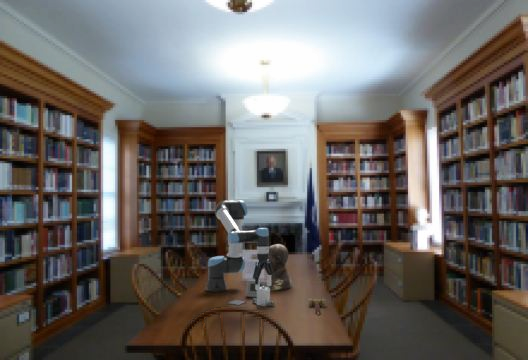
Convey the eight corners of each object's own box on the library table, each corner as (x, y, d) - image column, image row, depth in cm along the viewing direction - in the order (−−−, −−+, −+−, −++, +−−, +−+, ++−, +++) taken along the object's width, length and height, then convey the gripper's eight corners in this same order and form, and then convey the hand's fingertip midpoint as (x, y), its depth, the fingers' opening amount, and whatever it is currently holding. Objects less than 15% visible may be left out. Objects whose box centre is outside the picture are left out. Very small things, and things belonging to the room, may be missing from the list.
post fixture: (252, 303, 243) (252, 290, 244) (254, 302, 245) (254, 289, 246) (272, 306, 236) (272, 293, 236) (274, 305, 238) (274, 292, 238)
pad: (227, 303, 242) (227, 302, 242) (235, 300, 249) (235, 300, 249) (238, 305, 238) (238, 304, 238) (245, 302, 245) (245, 301, 245)
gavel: (327, 310, 217) (309, 310, 218) (327, 318, 217) (309, 318, 218) (324, 298, 238) (308, 297, 239) (325, 305, 238) (308, 305, 239)
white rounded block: (252, 304, 241) (252, 286, 241) (257, 302, 246) (257, 284, 247) (269, 307, 235) (269, 288, 235) (274, 304, 240) (274, 286, 240)
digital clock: (244, 296, 260) (244, 280, 260) (251, 293, 267) (251, 278, 268) (265, 299, 251) (265, 283, 252) (272, 296, 259) (271, 280, 260)
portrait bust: (292, 280, 310) (291, 241, 311) (290, 290, 275) (289, 247, 276) (266, 279, 312) (266, 241, 314) (261, 290, 278) (260, 246, 279)
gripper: (257, 255, 229) (257, 292, 228) (278, 251, 250) (278, 284, 249) (246, 255, 233) (247, 290, 232) (268, 250, 254) (268, 283, 253)
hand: (263, 287), depth 241 cm, fingers open, 13 cm apart
